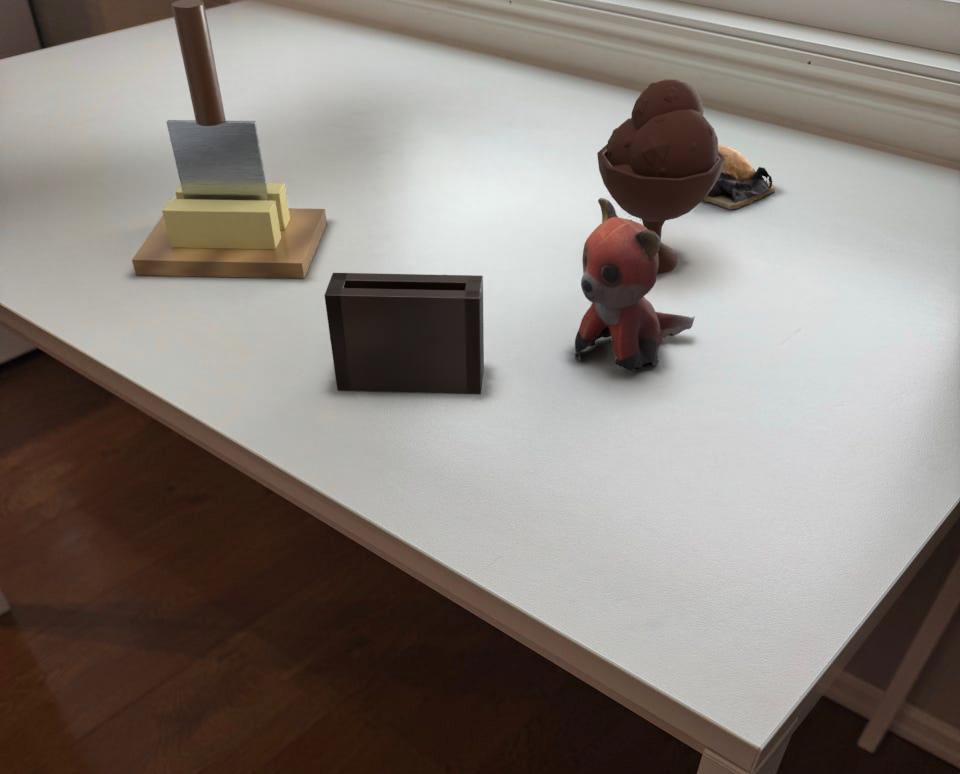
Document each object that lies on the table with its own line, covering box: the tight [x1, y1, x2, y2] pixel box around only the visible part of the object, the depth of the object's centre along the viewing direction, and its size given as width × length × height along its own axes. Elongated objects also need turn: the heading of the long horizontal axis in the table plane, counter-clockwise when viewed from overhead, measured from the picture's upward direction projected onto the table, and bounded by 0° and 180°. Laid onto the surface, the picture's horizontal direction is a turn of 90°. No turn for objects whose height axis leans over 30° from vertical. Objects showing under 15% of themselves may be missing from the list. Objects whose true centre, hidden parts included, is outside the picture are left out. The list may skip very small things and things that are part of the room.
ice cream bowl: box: [596, 78, 726, 275], centre depth 86 cm, size 11×11×15 cm
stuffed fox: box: [574, 197, 696, 372], centre depth 75 cm, size 8×11×12 cm
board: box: [131, 207, 328, 279], centre depth 94 cm, size 16×12×2 cm
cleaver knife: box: [166, 0, 269, 201], centre depth 86 cm, size 8×3×19 cm, turn 86°
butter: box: [161, 182, 290, 250], centre depth 92 cm, size 10×7×4 cm
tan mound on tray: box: [703, 144, 776, 211], centre depth 102 cm, size 11×8×4 cm
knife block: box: [324, 272, 485, 395], centre depth 74 cm, size 11×4×8 cm, turn 86°
